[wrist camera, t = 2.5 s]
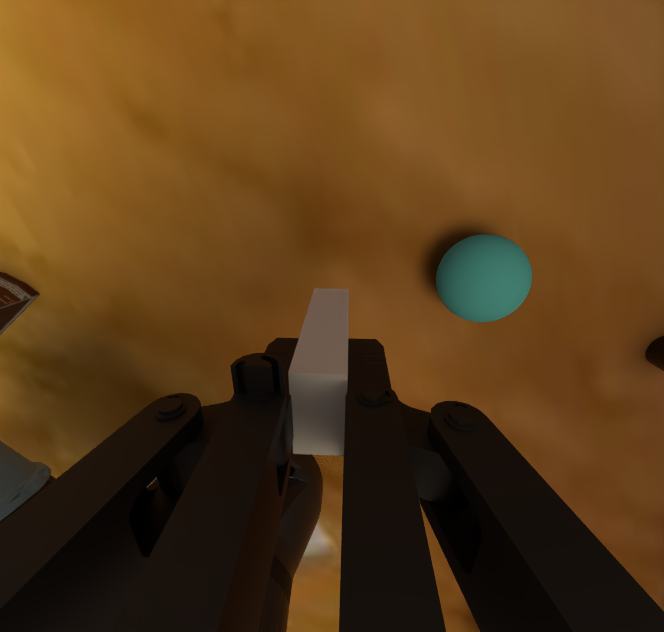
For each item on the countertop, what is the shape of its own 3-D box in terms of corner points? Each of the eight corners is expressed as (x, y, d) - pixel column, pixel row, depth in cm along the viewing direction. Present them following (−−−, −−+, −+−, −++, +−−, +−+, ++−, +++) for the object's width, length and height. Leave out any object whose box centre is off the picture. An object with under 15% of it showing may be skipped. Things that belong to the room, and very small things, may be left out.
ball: (423, 302, 25) (443, 336, 19) (432, 227, 22) (457, 242, 17) (498, 304, 24) (538, 338, 19) (514, 228, 22) (564, 244, 17)
